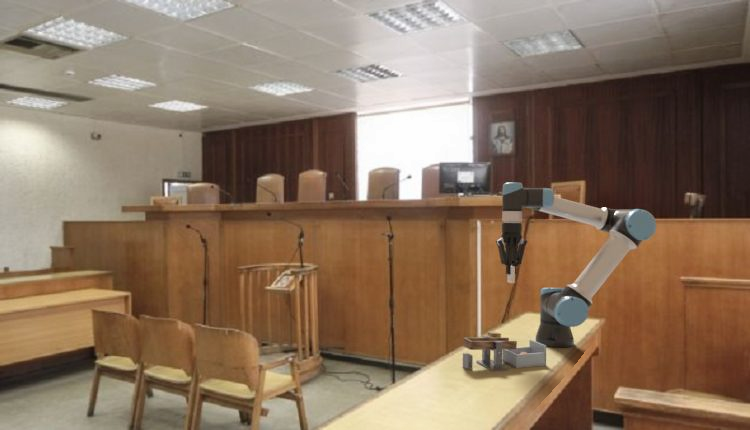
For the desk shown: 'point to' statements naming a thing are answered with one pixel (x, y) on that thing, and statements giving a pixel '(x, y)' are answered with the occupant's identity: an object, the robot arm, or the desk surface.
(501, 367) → the fulcrum
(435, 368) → the desk surface
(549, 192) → the robot arm
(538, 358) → the bin
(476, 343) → the lever
